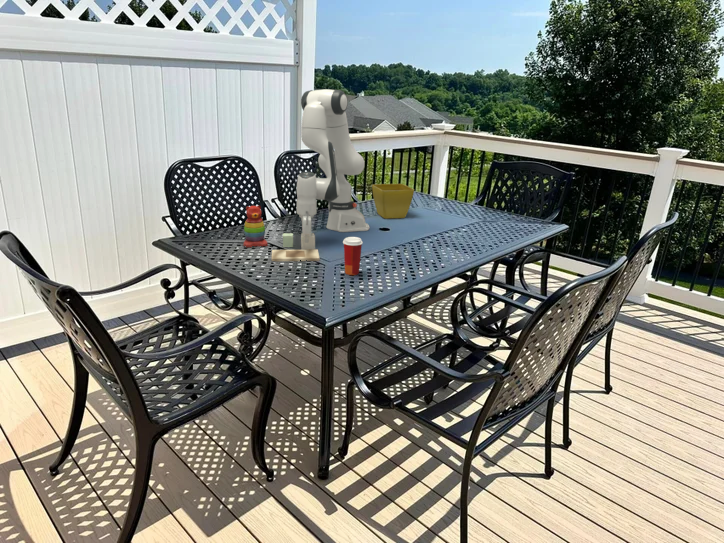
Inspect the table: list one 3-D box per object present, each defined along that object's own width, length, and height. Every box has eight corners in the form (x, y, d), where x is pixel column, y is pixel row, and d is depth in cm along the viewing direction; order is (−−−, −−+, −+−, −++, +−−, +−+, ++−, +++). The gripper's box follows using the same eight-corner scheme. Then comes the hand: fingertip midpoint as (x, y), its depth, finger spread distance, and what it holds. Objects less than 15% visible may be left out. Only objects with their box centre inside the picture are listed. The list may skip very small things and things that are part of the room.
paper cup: (361, 269, 209) (362, 236, 204) (361, 276, 201) (363, 242, 196) (342, 269, 208) (342, 236, 203) (342, 276, 201) (342, 241, 196)
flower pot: (370, 212, 300) (371, 184, 294) (400, 211, 305) (402, 183, 299) (381, 220, 283) (382, 190, 277) (412, 219, 288) (414, 189, 282)
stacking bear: (243, 247, 230) (241, 209, 224) (242, 241, 239) (240, 203, 233) (268, 246, 233) (266, 208, 227) (266, 240, 242) (264, 203, 236)
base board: (317, 251, 228) (317, 249, 228) (319, 260, 217) (319, 257, 216) (272, 252, 225) (272, 249, 225) (271, 261, 214) (271, 258, 214)
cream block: (314, 245, 237) (314, 232, 235) (314, 249, 232) (314, 236, 230) (301, 245, 236) (301, 233, 234) (301, 249, 231) (301, 236, 229)
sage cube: (293, 244, 237) (292, 233, 235) (293, 247, 233) (293, 236, 231) (283, 244, 236) (282, 233, 234) (283, 247, 232) (282, 236, 230)
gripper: (314, 215, 218) (314, 246, 223) (312, 204, 237) (312, 233, 242) (299, 214, 218) (299, 246, 222) (299, 204, 237) (299, 233, 241)
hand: (306, 239), depth 232 cm, fingers open, 8 cm apart
